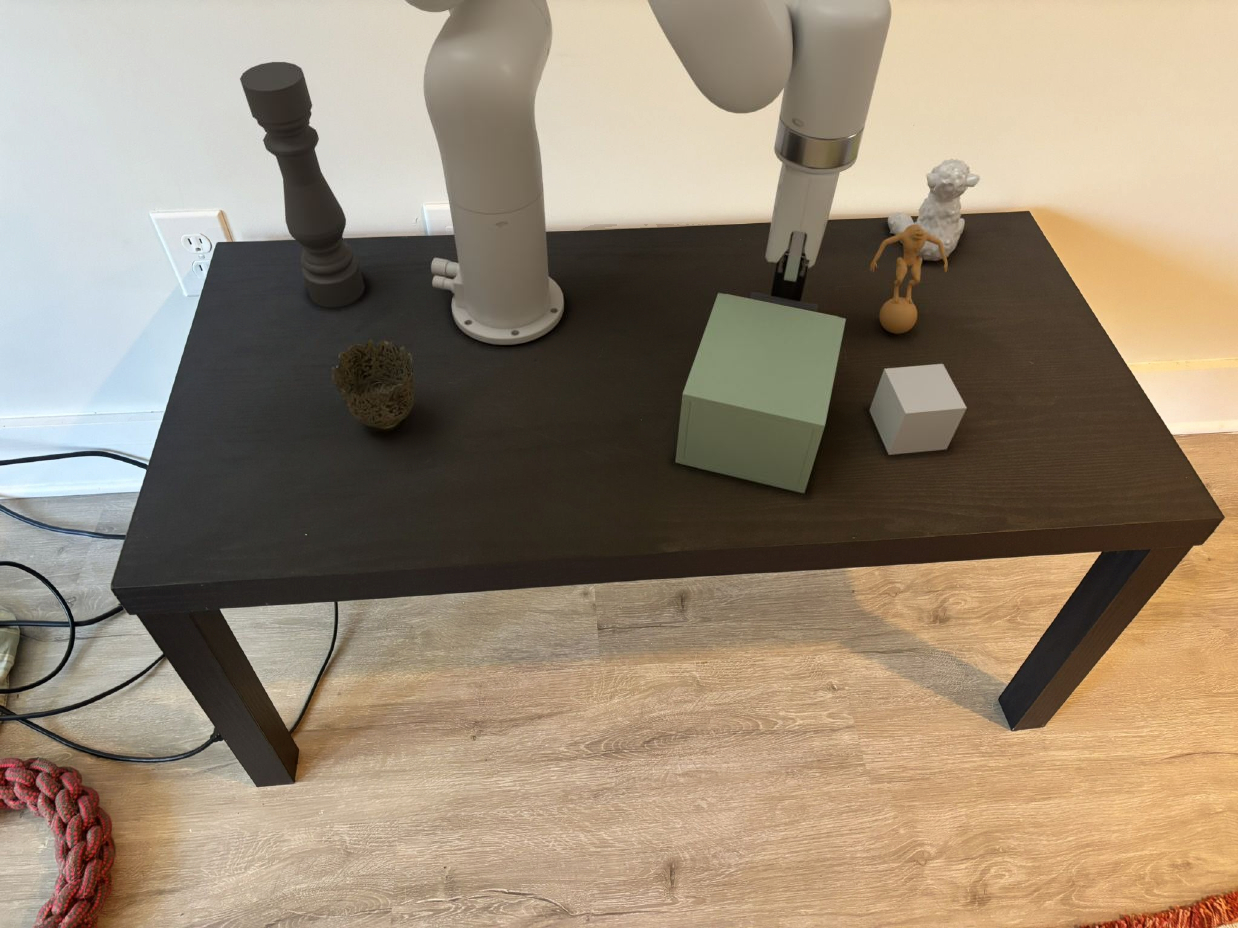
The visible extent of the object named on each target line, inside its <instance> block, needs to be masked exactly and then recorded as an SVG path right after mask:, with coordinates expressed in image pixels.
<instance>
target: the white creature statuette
mask: <svg viewBox="0 0 1238 928" xmlns="http://www.w3.org/2000/svg"><path fill="white" fill-rule="evenodd" d="M970 172H971V171H970V166H969V165H968V164H967V163H965V161H964V160H959V159H953V158H950V159H944V160H943V161H942V163H940V164H939V165H938V166H937V165H936V166H935V167H933V168H932V170H931V172H928V173H926V174H925V176H926V181H927V183H926V184H927V187H928V188H929V193H928V195H927V197H926V198H924V200H923V202H922V204H920V206H919V209H918V217H917V219H916V221H915V222H914V219H913V218H912V217H911V216H910V215H908V214H906V213H905V212H899V211H896V212H892V213H891V214H890V215H889V216H888V218H887V225H888V228H889V230H890V231H889V234H893V236H896V235H897V234H899V233H901V232H904V231H905V229H906V228H907V227H908V226H910V225H919V226H920V227H921V228H922V229H923V231H925V232H927V233H929V234H930V235H931V236H933V237H936V238H937V239H939V240H940V241H941V242H942V243H943V249H944V252H945V254H946V257H947V258H949V256H950V254H951V253H952V252H953V251H954V250H955V249H956V248H957V245H958V242H959V240H960V238H961V235H962V234H963V232H964V228H965V224H966V221H965V219H964V218H962V217H961V216H962V212H961V209H962V205H961V204H962V203H961V196H963V195H964V193H965V192H967V190H968V188H973V187H975V186H976V185H978V183H979V182H980V180H981V176H980V175H978V174H974V173H970ZM899 242H900V244H902V245H903V241H899ZM919 257H921V258H922V261H928V262H937V261H940V260H943V259H942V257H941V254H940V250H939V246H938V245H937V244H934V243H931V242H929V241H925V244H924V246H923V248H922V249H921V250H920V252H919V253H918V254H917V257H916V259H917V258H919Z"/></svg>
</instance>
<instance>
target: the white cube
mask: <svg viewBox="0 0 1238 928" xmlns="http://www.w3.org/2000/svg"><path fill="white" fill-rule="evenodd" d="M882 371H883V372H882V374H881V376H880V379H879V383H878V385H877V388H876V391H875V394H874V397H873V399H872V402H871V405H870V408H869V414H870V415H871V418H872V420H873V423H874V425H875V428H876V429H877V432H878V434H879V436H880V439H881V441H882V443H883V445H884V447H885V450H886V452H887V454H888V456H890V455H900V454H902V455H903V454H912V453H913V454H914V453H922V452H932V451H943V450H947V449H948V447H949V445H950V443H951V441H952V439H953V437H954V435H955V433H956V431H957V429H958V427H959V424H960V423H961V420H962V418H963V417H964V415H965V413H966V411H967V406H966V404H965V402H964V400H963V398H962V396H961V395H960V393H959V391H958V389H957V387H956V386H955V384H954V382H953V380H952V378H951V376H950V374H949V373H948V371H947V368H946V367H945V365H944V363H937V364H936V363H935V364H924V365H911V366H901V367H887V368H884V369H883V370H882Z"/></svg>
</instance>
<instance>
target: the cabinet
mask: <svg viewBox="0 0 1238 928" xmlns="http://www.w3.org/2000/svg"><path fill="white" fill-rule="evenodd" d="M726 294H727V293H721V292H718V293H717V295H716V297H715V301H714V303H713V306H712V309H711V312H710V315H709V319H708V320H707V324H706V326H705V329H704V332H703V335H702V337H701V341H700V343H699V347H698V349H697V351H696V355H695V358H694V361H693V363H692V366H691V369H690V372H689V374H688V377H687V380H686V383H685V385H684V389H683V391H682V396H681V405H680V414H679V415H680V416H679V425H678V433H677V442H676V453H675V463H676V464H680V465H684V466H688V467H692V468H697V469H700V470H704V471H708V472H712V473H717V474H721V475H726V476H730V477H733V478H737V479H742V480H746V481H749V482H750V481H751V482H754V483H759V484H763V485H768V486H771V487H776V488H780V489H784V490H788V491H792V492H796V493H801V494H805V493H806V489H807V486H808V483H809V479H810V476H811V473H812V470H813V466H814V463H815V460H816V456H817V455H818V454H817V453H818V451H819V447H820V444H821V440H822V437H823V434H824V430H825V427H826V423H827V417H828V413H829V407H830V402H831V397H832V392H833V386H834V383H835V382H834V381H835V376H836V372H837V366H838V362H839V357H840V351H841V346H842V341H843V336H844V331H845V326H846V321H847V319H846V318H844V317H840V316H837V317H835V316H836V315H833V316H830V315H831V314H828V315H825V314H826V313H823V314H820V313H821V312H818V313H815V312H810V311H805V310H800V309H795V308H790V307H786V306H781V305H776V304H771V303H766V302H761V301H756V300H751V299H750V298H749V299H746V298H747V297H744V298H741V297H742V296H739V297H736V296H737V295H734V296H731V295H732V294H729V295H726Z"/></svg>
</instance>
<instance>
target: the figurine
mask: <svg viewBox="0 0 1238 928" xmlns="http://www.w3.org/2000/svg"><path fill="white" fill-rule="evenodd" d="M900 241H903V244H902V249H903V257H902V256H900V257H897V259H896V260H895V261H896V262H895V265H896V270H895V277H896V280H894V283H893V284H894V288H893V297H892V298H890V299H887V301H885V303H883V305H882V307H880V310H879V315H878V316H879V323H880V324H881V327H882V328H883V329H884V330H886V332H888V333H891V334H897V335H898V334H899V335H900V334H903V333H907V332H909V330H911V329H912V328H914V326H915V324H916V322H917V319H918V310H917V309H918V308H917V307H916V305H915V304H914V303H913V299H912V287H914V286H916V285H918V284H919V283H920V282H921V274H922V270H921V268H922V264H923V260H922V258H921V257H919V258H917V254H918V253H919V252H920V250H921V249H922V248H923V246H924V244H925V241H929V242H931V243H934V244H937V245H938V246H939V250H940V254H941V257H942V259H941V260H942V261H943V262H944V265H943V269H944V273H947V271H948V268H949V267H948V266H949V265H948V264H949V263H948V259H947V258H948V257H946V254H945V252H944V249H943V243H942V242H941V241H940V240H939V239H937V238H936V237H933V236H931V235H930V234H929V233H927V232H925V231H923V229H922V228H921V227H920V226H919V225H910V226H908V227H907V228H906V229H905V231H904V232H901V233H899V234H897V235H896V236H895V235H893V236H890V237H889V238H886V239H884V240H883V241H882V242H881V244H880V246H879V249H878V250H877V252H876V254H875V255H874V258H873V260H872V261H871V263H870V267H869V271H870V272H873V273H874V272H875V269H877V268H878V265H877V261H878V260H879V259H880V257H881V255H882V254H883V252H884V250H885V248H886V246H888V245H890V244H894V243H897V242H900ZM908 267H911V268H910V275H911V276H912V279H910V280H909V281H908V284H907V288H906V293H905V297H903V296H899V295H900V294H899V292H900V287H899V286H901V284H902V283H903V281H904V279H905V276H906V275H907V273H908Z"/></svg>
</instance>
